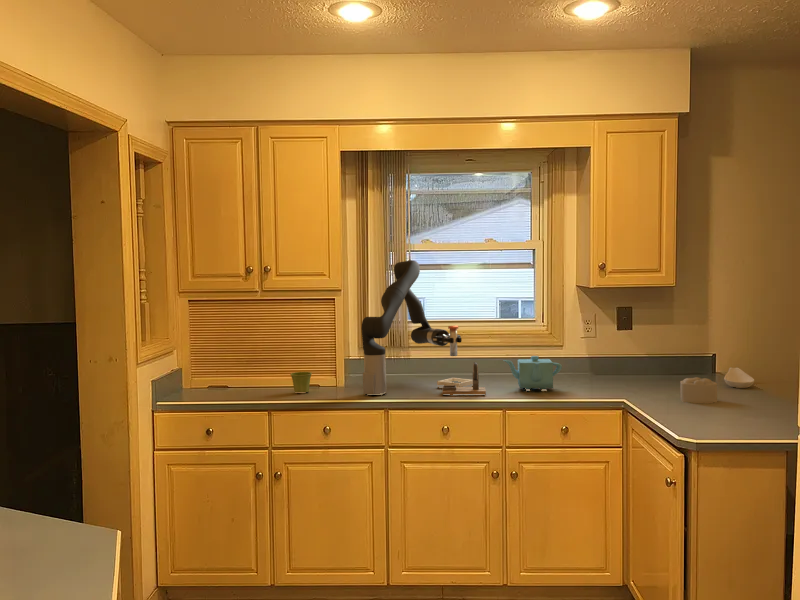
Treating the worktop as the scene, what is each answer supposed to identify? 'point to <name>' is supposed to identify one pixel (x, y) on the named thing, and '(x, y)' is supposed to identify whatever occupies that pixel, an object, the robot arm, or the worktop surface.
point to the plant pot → (301, 381)
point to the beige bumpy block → (698, 390)
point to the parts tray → (449, 382)
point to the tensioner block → (466, 390)
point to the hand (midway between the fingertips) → (456, 340)
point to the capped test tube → (454, 335)
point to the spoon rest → (738, 378)
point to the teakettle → (534, 372)
